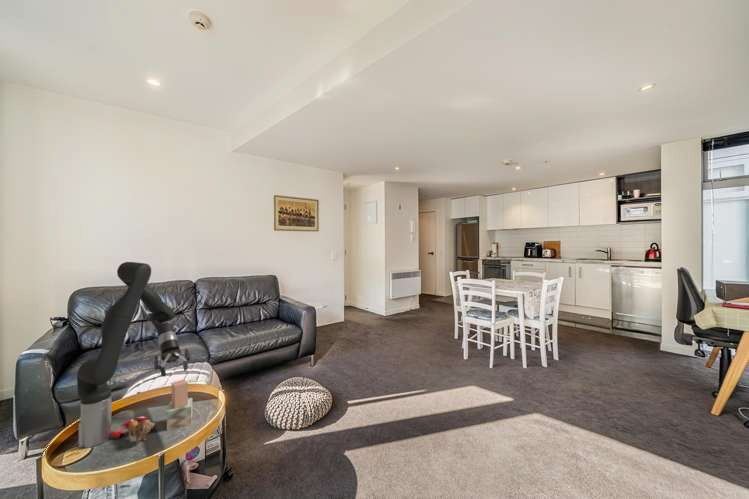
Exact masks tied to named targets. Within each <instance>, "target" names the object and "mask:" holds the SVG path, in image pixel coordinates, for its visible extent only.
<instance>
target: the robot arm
mask: <svg viewBox="0 0 749 499" xmlns="http://www.w3.org/2000/svg"><path fill="white" fill-rule="evenodd" d="M116 272H117V274H116V275H117V276H118V279H119V280H120V281H121V282H122V283H123V284H125V285H126V287H127V290H126V292H124V294H123V295H122V296H121V297H120V298H119V299H118V300H116V301H115V302H114V303H112V305H111V306H110V307H109V308H108V309H107V311H106V313H105V316H104V319H103V321H102V325H101V329H100V331H101V347H100V352H99V354H98V357H97V358H91V359H88V360H86V361H84V362H83V363H82V364H81V365H80V366H79V368H78V370H77V373H76V383H77V384H76V385H77V386H76V387H77V394H78V397H79V399H80V421H79V423H78V448H79V449H80V448H92V447H96V446H98V445H102V444H103V443H105V442H107V441H108V440H109V439H111V433H112V432H113V431H112V389H111V387H110V386H109V385H108V384H107V383H108V382H109V381H111V379H112V378H113V376H114V375H115V372H116V371H117V368H118V364H119V360H120V359H119V358H120V355H121V352H122V348H123V344H124V342H125V339H126V336H127V333H128V331H129V328H130V326H131V323H132V320H133V318H134V315H135V312H136V310H137V307H138V304H139V302H140V301H141V302H142V303H143V305H144V306H145V308H146V309H147V310H148V312H149V313H151V314H150V315H149V321H150V322H151V323H152V325H153V326H154V328H155V330H156V333H157V337H158V347H159V350H160V351H159V352H160V354H161V355H159V356H158V355H154V358H153V364H154V365H153V366H154V370H157V371H158V370H159V372H160V375H161V376H162V377H166V375H167V373H166V368H165V366H166V365H167V363H168V364H172V363H176V362H178V363H182V366H183V367H182V368H183V371H184V372H185V371H187V370H188V368H189V365H188V362H190V360H191V355H190V352H189V349H188V348H185V349H184V350H181V349H180V344H179V340H178V336H177V334H176V332H175V327H174V325H173V323H170V322H169V321H172V320H173V319H175V315H176V314H175V313H176V312H175V310H174V309H173V308H172V307H171V306H170V305H167V304H166V303H165V302H164V301H163V299H162V298H161V296H160V295H159V293H158V292H157V291H155V290H154V289H153V288H152V287H150V286H149V285H148V283H149V280H150V278H151V275H152V267H151V266H150V264H148V263H143V262H136V261H135V262H134V261H125V262H123V263H121V264H120V265H119V266H118V267H117V271H116ZM183 355H184V356H183ZM160 360H162V361H163V362H162V363H161V364H159V361H160Z"/></svg>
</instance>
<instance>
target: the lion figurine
mask: <svg viewBox="0 0 749 499" xmlns="http://www.w3.org/2000/svg"><path fill="white" fill-rule="evenodd" d="M155 424H156V423H155V422H152V421H151V420H150V419H148V420H145V421H143V422H141V423H139V424H138V422H137V421H132V422H131V423H130V425H129V432H128V433H126V434H125V435H124V436H128V437H127V441H128V442H129V441H131V440H132V438H131V437H132V436H131V435H133V436H134V435H135V440H136V441H135V442H136V443H135V444H136V446H139V445H140V444H141V441H144V442H145V441H146V440H147V437H145V436H146V435H147V434H148V433H149V432H150V431H151V429H153V428H154V426H155ZM140 437H141V441H140Z"/></svg>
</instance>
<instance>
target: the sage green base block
mask: <svg viewBox="0 0 749 499" xmlns="http://www.w3.org/2000/svg"><path fill="white" fill-rule="evenodd" d="M192 421H193V397H188V404H187V405H185V406H182V407H179V408H176V409H175V408H174V407H173V406H172V401H170V402H169V403H168V406H167V411H166V430H167V431H169V430H174V429H178V428H181V427H186V426H190V425H192Z"/></svg>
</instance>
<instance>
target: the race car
mask: <svg viewBox="0 0 749 499" xmlns="http://www.w3.org/2000/svg"><path fill="white" fill-rule="evenodd" d="M145 420H149V419H148V417H147V416H145V415H144V416H138V417H134V418H132V419H129V420H127V421H125V422H124V423H123V424H121V425H120V426H119V427H117V428H116V429H114V430H113V431H112V432H111V437H110V439H112V440H115V439H117V440H118V439H122V438H123V437H125V436H126V435H125V434H126V433H128V432H129V425H130V423H131V422H132V421H137V422H138V424H139V423H141V422H143V421H145Z"/></svg>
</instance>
